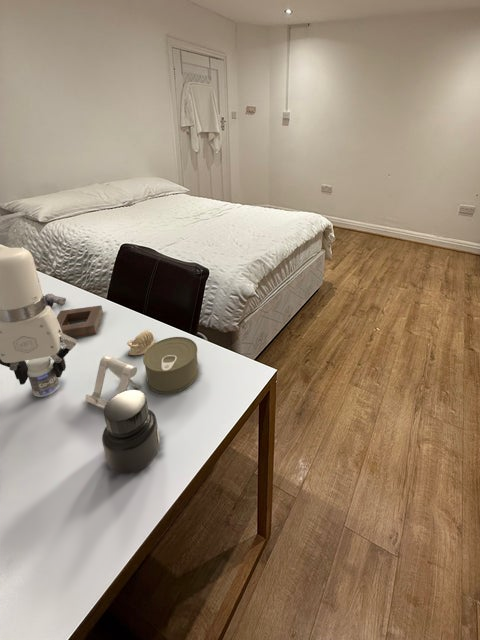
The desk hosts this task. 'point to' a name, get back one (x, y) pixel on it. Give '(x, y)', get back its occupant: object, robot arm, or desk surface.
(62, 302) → the seashell
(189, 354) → the can
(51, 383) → the pill bottle
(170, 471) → the desk surface
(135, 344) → the decorative ornament
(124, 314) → the desk surface
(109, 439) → the ink bottle
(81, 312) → the holder
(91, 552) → the desk surface
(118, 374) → the tablet stand
